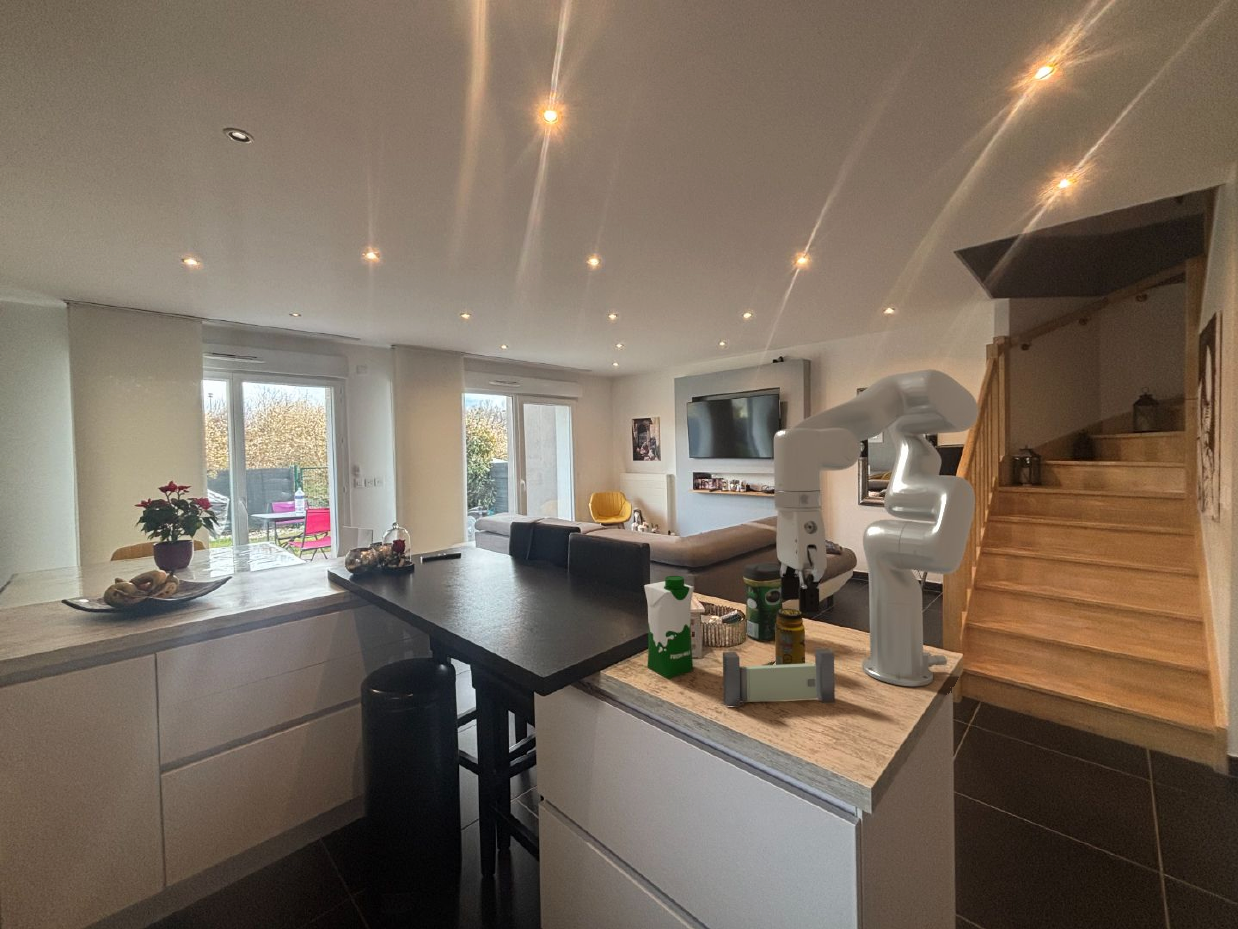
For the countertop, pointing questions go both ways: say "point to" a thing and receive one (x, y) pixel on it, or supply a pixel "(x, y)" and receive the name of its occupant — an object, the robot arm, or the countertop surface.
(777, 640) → the condiment
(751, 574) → the coffee jar
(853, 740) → the countertop surface
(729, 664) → the gate posts
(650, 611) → the milk carton
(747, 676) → the panel
